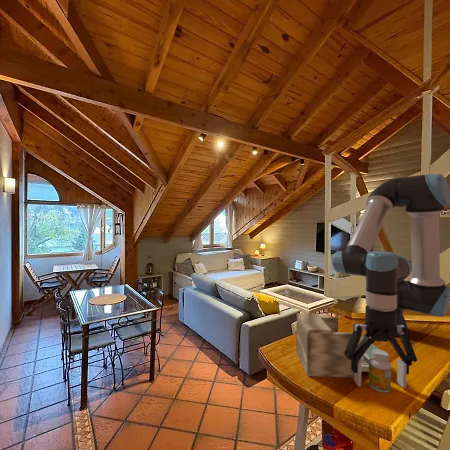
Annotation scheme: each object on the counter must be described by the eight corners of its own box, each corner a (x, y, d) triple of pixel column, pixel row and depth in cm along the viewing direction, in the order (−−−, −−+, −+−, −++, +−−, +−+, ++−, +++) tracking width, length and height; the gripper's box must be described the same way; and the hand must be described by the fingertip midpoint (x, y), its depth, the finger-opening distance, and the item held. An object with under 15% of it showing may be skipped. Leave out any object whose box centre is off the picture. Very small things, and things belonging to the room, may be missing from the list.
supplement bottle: (364, 383, 75) (364, 349, 75) (377, 379, 77) (378, 346, 76) (381, 395, 70) (381, 359, 70) (395, 390, 72) (395, 355, 71)
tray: (364, 353, 91) (364, 336, 91) (387, 377, 77) (387, 356, 77) (323, 352, 91) (324, 335, 91) (339, 375, 78) (339, 355, 78)
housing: (336, 353, 91) (337, 314, 91) (354, 377, 77) (355, 330, 77) (296, 352, 92) (296, 313, 92) (307, 376, 78) (307, 329, 78)
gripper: (415, 303, 76) (413, 377, 76) (332, 301, 77) (331, 374, 77) (434, 312, 69) (433, 394, 69) (343, 310, 70) (341, 391, 70)
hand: (379, 384), depth 73 cm, fingers open, 11 cm apart
